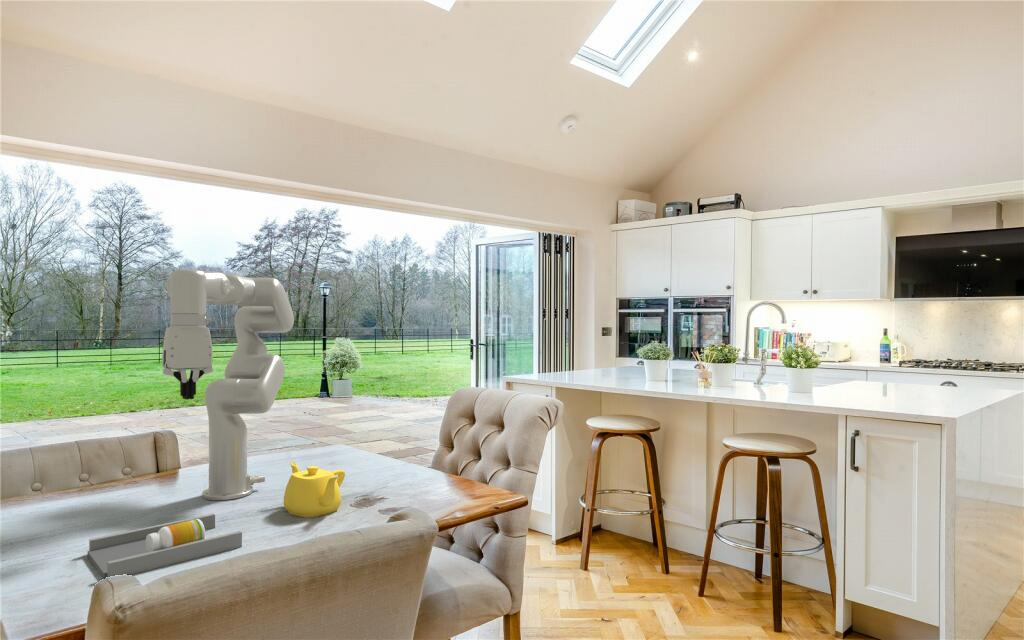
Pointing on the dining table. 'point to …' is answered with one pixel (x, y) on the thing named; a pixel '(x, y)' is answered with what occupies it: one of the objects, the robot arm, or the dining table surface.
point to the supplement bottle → (176, 535)
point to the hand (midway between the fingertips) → (188, 398)
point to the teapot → (313, 491)
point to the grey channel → (132, 556)
